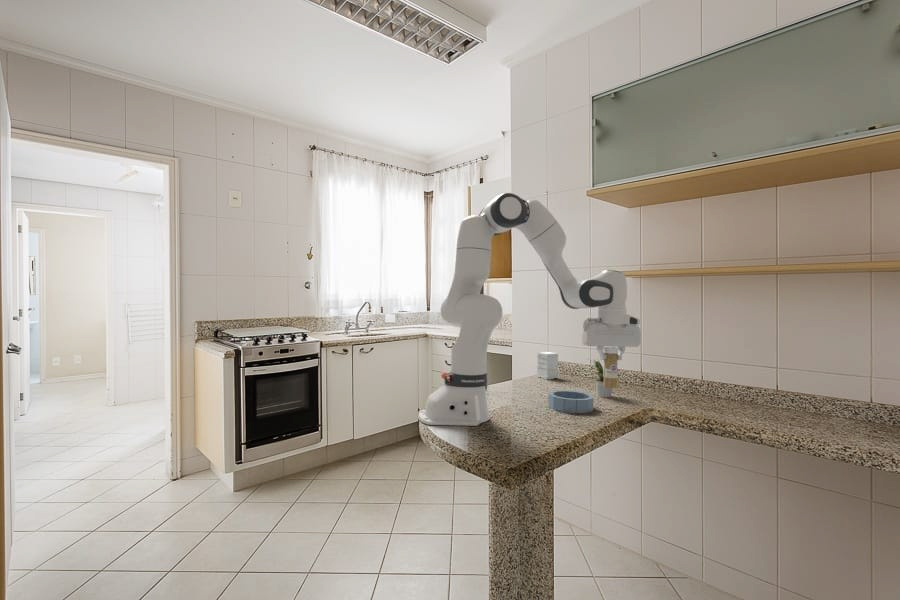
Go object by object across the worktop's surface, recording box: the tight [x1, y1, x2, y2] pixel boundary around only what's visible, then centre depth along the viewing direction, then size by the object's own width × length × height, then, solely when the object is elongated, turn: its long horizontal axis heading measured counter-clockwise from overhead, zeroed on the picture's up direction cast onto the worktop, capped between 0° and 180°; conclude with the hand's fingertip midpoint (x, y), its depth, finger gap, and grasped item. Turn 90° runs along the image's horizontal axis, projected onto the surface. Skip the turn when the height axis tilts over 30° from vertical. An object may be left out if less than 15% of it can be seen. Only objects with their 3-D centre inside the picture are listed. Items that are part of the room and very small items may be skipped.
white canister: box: [536, 351, 559, 380], centre depth 208 cm, size 7×7×13 cm
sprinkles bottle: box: [602, 346, 619, 389], centre depth 141 cm, size 5×5×13 cm
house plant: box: [587, 358, 620, 399], centre depth 169 cm, size 14×14×16 cm
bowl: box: [548, 389, 594, 414], centre depth 149 cm, size 15×15×4 cm
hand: (610, 359), depth 141 cm, fingers closed on sprinkles bottle, 4 cm apart
